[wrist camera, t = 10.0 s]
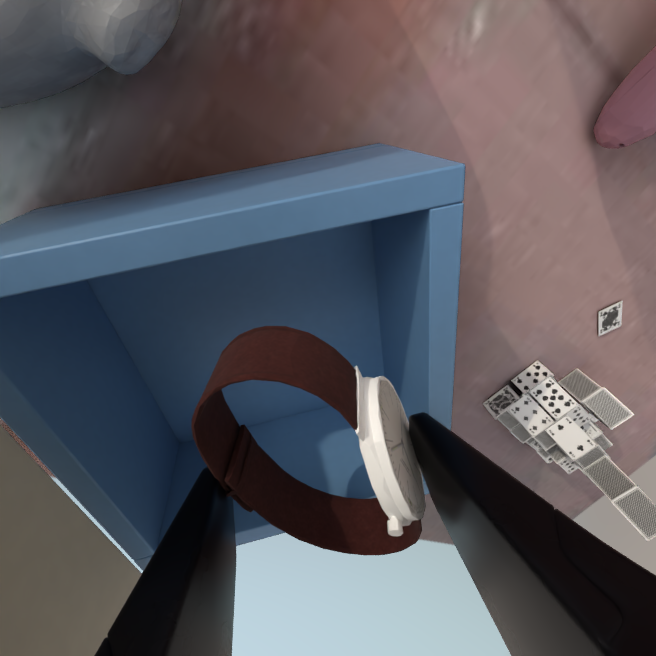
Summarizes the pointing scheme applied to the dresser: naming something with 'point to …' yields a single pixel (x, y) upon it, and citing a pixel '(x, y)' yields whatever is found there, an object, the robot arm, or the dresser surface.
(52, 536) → the case lid
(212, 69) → the dresser surface
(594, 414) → the house of cards
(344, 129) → the dresser surface
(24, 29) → the dish
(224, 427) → the watch
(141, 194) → the case
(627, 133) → the video game controller
